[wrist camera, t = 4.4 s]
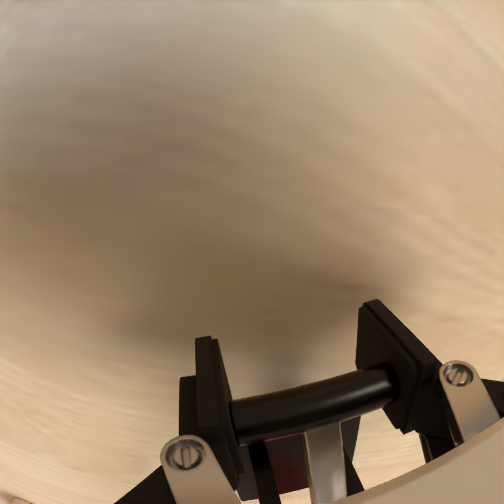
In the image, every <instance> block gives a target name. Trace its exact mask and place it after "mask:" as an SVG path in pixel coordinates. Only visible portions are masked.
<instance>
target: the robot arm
mask: <svg viewBox="0 0 504 504" xmlns="http://www.w3.org/2000/svg"><path fill="white" fill-rule="evenodd" d="M195 359H196V375H194V376H187V377H181V378H180V385H179V436H177V437H175V438H173V439H171V440H170V441H169V442H167V443H166V444H165V445H164V447H163V448H162V450H161V454H160V459H161V464H162V465H161V466H160V467H159V468H157V469H156V470H155V471H154V472H153V473H151V474H150V475H149V476H148V477H147V478H145V479H144V480H143V481H142V482H141V483H139V484H138V485H137V486H136V487H134V488H133V489H132V490H131V491H129V492H128V493H127V494H126V495H124V496H123V497H122V498H120V499H119V500H118V501H117V502H115V503H114V504H241V502H240V500H239V499H238V497H237V495H236V494H235V492H234V491H235V490H236V489H237V488H238V487H239V484H238V483H240V482H241V481H240V476H239V474H244V473H245V468H244V463H243V458H242V452H241V447H240V446H238V444H237V442H236V439H235V435H234V431H233V427H232V422H231V417H230V411H229V402H230V401H231V400H232V396H231V391H230V387H229V383H228V379H227V375H226V371H225V367H224V363H223V359H222V355H221V351H220V347H219V342H218V339H212V338H211V336H205V337H199V338H195ZM381 362H388V363H389V364H391V366H392V367H393V368H394V370H395V372H396V374H397V376H398V380H399V384H400V396H399V399H398V400H397V401H396V402H395V403H393V404H391V405H388V406H385V407H383V408H382V409H383V410H384V412H385V413H386V415H387V417H388V418H389V420H390V421H391V423H392V424H393V426H394V427H395V428H396V429H400V430H401V432H402V433H403V435H404V434H406V433H409V432H411V431H413V430H415V431H416V432H417V433H419V438H420V442H421V446H422V450H423V454H424V458H425V462H426V464H425V465H423V466H421V467H419V468H416V469H414V470H412V471H410V472H408V473H406V474H404V475H401V476H399V477H397V478H395V479H392V480H390V481H388V482H385V483H383V484H380V485H378V486H375V487H373V488H370V489H368V490H365V491H362V492H360V493H357V494H354V495H351V496H348V497H345V498H342V499H339V500H336V501H333V502H330V503H327V504H504V382H501V381H494V380H488V379H481V378H480V377H479V375H478V373H477V371H476V370H475V368H474V367H473V366H472V365H470V364H469V363H467V362H464V361H459V360H454V361H449V362H446V363H445V364H444V365H443V364H442V363H441V362H440V361H439V360H438V359H437V358H436V357H435V356H434V355H433V354H432V353H431V352H430V351H429V350H428V348H427V347H426V346H425V345H424V344H423V343H422V342H421V341H420V340H419V339H418V338H417V337H416V336H415V335H414V334H413V333H412V332H411V331H410V330H409V329H408V328H407V327H406V326H405V325H404V324H403V323H402V322H401V321H400V320H399V319H398V318H397V317H396V316H395V315H394V314H393V313H392V312H391V311H390V310H389V309H388V308H387V307H386V306H385V305H384V304H383V303H382V302H381V301H380V300H378V299H375V300H371V301H367V302H364V303H363V305H362V307H360V308H359V311H358V331H357V347H356V360H355V363H356V367H357V370H359V369H362V368H365V367H369V366H372V365H375V364H378V363H381Z"/></svg>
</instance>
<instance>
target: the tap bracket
mask: <svg viewBox="0 0 504 504" xmlns="http://www.w3.org/2000/svg"><path fill="white" fill-rule="evenodd" d="M360 418H361V416H358V417H355V418H352V419H349V420H345V421H342V422H340V425H341V434H342V444H343V454H344V465H345V477H346V490H347V497H348V496H351V495H354V494H357V493H360V492H362V491H365V490H364V488H363V486H362V484H361V481H360V479H359V477H358V475H357V473H356V471H355V469H354V466H353V464H352V460H353V455H354V450H355V445H356V440H357V435H358V430H359V424H360ZM240 447H241V452H242V458H243V463H244V468H245V473H244V474H239V476H240V481H241V482H240V483H238V484H239V487H238V488H237V489H236V490H237V492H238V495H239V497H240V499H241V501H248V500H253V499H259V503H260V504H281V501H280V497H279V494H284V493H288V492H292V491H296V490H300V489H304V488H308V487H309V484H308V477H307V471H306V465H305V459H304V453H303V447H302V441H301V435H300V434H296V435H292V436H288V437H284V438H279V439H275V440H270V441H265V442H260V443H255V444H250V445H244V446H240Z"/></svg>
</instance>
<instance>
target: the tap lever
mask: <svg viewBox="0 0 504 504" xmlns="http://www.w3.org/2000/svg"><path fill="white" fill-rule="evenodd" d="M399 396H400V384H399V380H398V376H397V374H396V372H395V370H394V368H393V367H392V366H391V364H389V363H388V362H381V363H378V364H375V365H372V366H369V367H365V368H362V369H359V370H356V371H353V372H349V373H346V374H343V375H339V376H336V377H332V378H329V379H325V380H321V381H318V382H314V383H310V384H306V385H302V386H298V387H294V388H290V389H286V390H281V391H277V392H272V393H268V394H263V395H258V396H253V397H248V398H242V399H237V400H231V401H230V402H229V411H230V417H231V422H232V427H233V431H234V435H235V439H236V442H237V444H238V446H244V445H250V444H255V443H260V442H265V441H270V440H275V439H279V438H284V437H288V436H292V435H296V434H300V435H301V441H302V447H303V453H304V459H305V465H306V471H307V477H308V484H309V490H310V496H311V503H312V504H327V503H330V502H333V501H336V500H339V499H342V498H345V497H347V490H346V477H345V465H344V454H343V444H342V434H341V425H340V422H342V421H345V420H349V419H352V418H355V417H358V416H361V415H363V414H366V413H369V412H372V411H375V410H377V409H380V408H383V407H385V406H388V405H391V404H393V403H395V402H396V401H397V400H398V399H399Z"/></svg>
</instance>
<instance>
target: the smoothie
mask: <svg viewBox="0 0 504 504" xmlns="http://www.w3.org/2000/svg"><path fill="white" fill-rule="evenodd" d="M12 504H31V503H29V502H27V501H24V500H22V499H18V498H14V500H13V502H12Z"/></svg>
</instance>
